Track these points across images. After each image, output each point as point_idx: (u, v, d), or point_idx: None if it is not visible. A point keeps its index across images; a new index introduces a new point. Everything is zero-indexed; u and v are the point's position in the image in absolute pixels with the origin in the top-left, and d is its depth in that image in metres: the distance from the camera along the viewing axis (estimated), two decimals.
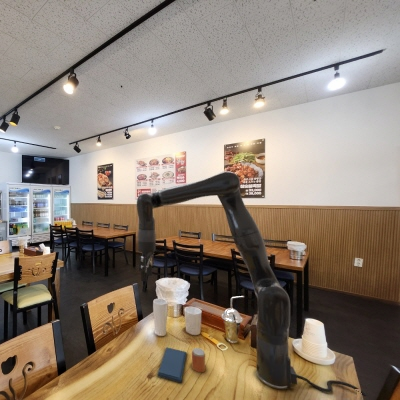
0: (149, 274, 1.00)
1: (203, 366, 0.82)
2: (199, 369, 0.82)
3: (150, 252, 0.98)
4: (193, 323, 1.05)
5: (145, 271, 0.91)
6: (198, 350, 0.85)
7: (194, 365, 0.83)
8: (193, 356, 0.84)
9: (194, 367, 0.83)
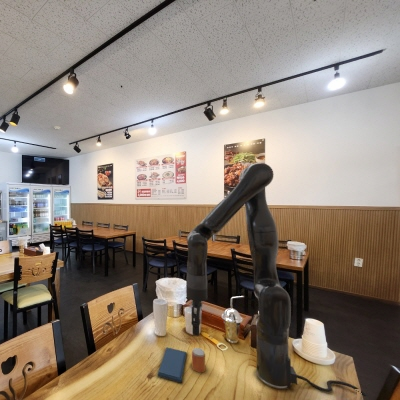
0: None
1: (203, 366, 0.82)
2: (199, 369, 0.82)
3: None
4: None
5: (198, 324, 0.80)
6: (198, 350, 0.85)
7: (194, 365, 0.83)
8: (193, 356, 0.84)
9: (194, 367, 0.83)
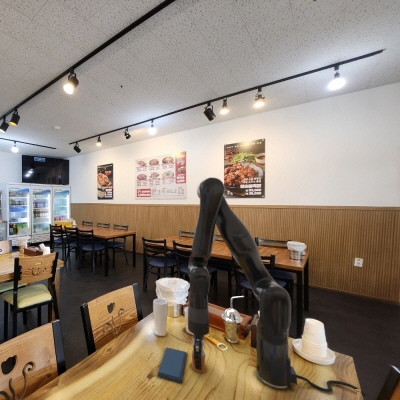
0: None
1: (203, 366, 0.82)
2: None
3: None
4: None
5: (200, 359, 0.81)
6: None
7: (194, 365, 0.83)
8: (193, 356, 0.84)
9: (194, 367, 0.83)
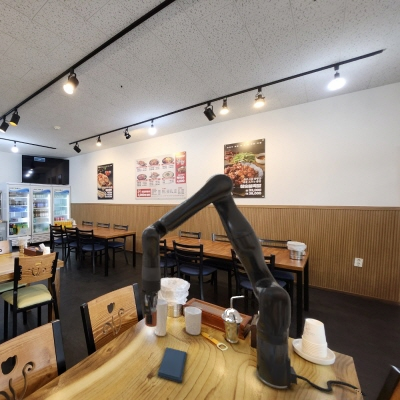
0: None
1: (154, 321, 0.88)
2: None
3: None
4: (193, 323, 1.05)
5: (151, 314, 0.86)
6: None
7: None
8: None
9: (146, 323, 0.88)
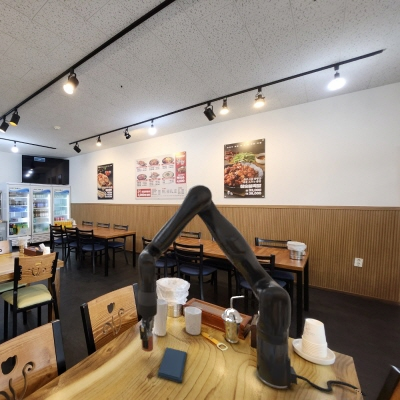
0: None
1: (150, 346, 0.88)
2: (146, 349, 0.87)
3: None
4: (193, 323, 1.05)
5: (147, 339, 0.86)
6: None
7: None
8: None
9: (142, 347, 0.88)
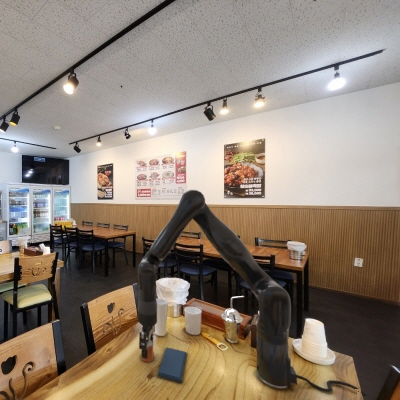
0: None
1: (150, 356, 0.88)
2: (146, 359, 0.87)
3: None
4: (193, 323, 1.05)
5: (146, 348, 0.84)
6: None
7: None
8: None
9: None
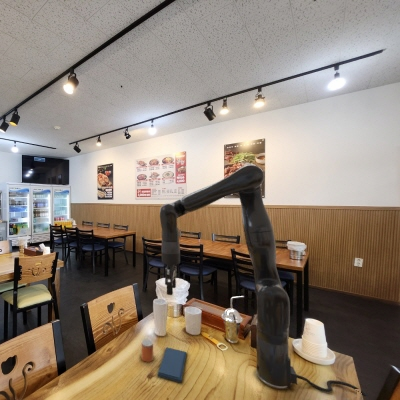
0: (173, 286, 0.97)
1: (150, 356, 0.88)
2: (146, 359, 0.87)
3: None
4: (193, 323, 1.05)
5: (171, 284, 0.88)
6: (147, 341, 0.90)
7: (142, 355, 0.88)
8: (142, 347, 0.89)
9: (142, 357, 0.88)
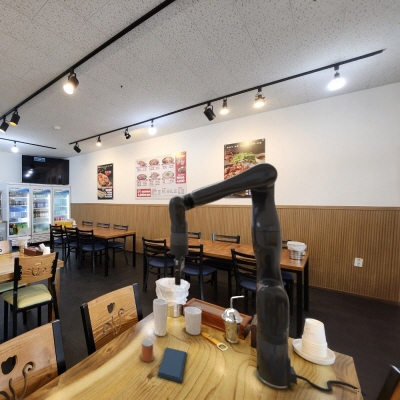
0: (180, 278, 0.99)
1: (150, 356, 0.88)
2: (146, 359, 0.87)
3: (182, 255, 0.97)
4: (193, 323, 1.05)
5: None
6: (147, 341, 0.90)
7: (142, 355, 0.88)
8: (142, 347, 0.89)
9: (142, 357, 0.88)
